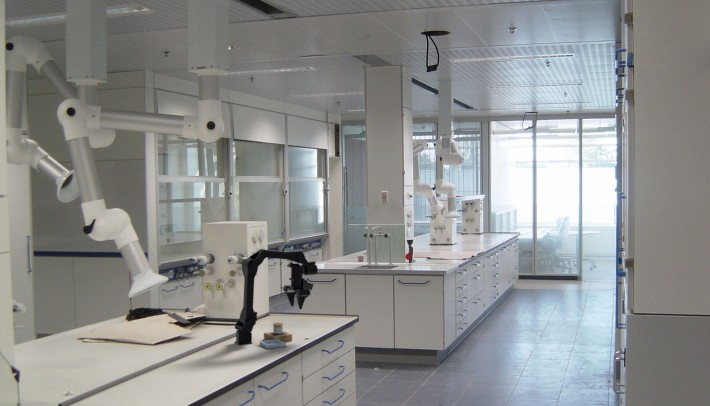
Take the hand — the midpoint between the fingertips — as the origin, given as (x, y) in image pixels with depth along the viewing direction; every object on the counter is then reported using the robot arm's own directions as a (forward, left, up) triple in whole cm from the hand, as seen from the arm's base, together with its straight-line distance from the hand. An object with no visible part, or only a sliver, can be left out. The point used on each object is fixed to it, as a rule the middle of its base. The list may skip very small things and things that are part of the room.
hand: (296, 307), depth 359 cm
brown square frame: (-11, -2, -14) cm, 18 cm away
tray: (-19, -13, -14) cm, 27 cm away
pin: (-11, -2, -14) cm, 18 cm away
